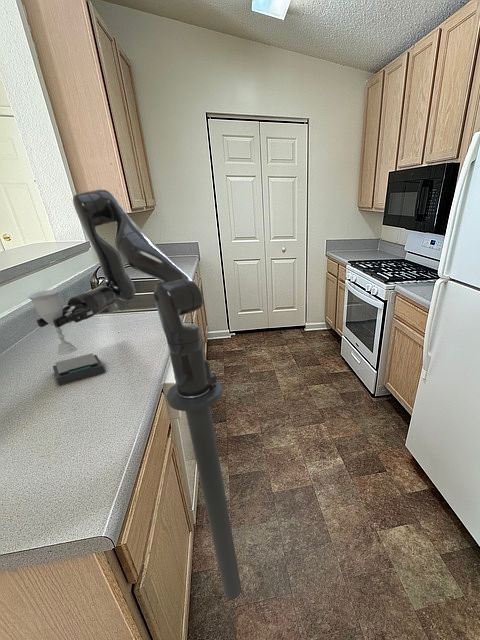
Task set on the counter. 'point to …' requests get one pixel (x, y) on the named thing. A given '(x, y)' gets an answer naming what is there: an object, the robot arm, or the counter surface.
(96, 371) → the scale
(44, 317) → the chalice
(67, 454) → the counter surface
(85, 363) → the pan
